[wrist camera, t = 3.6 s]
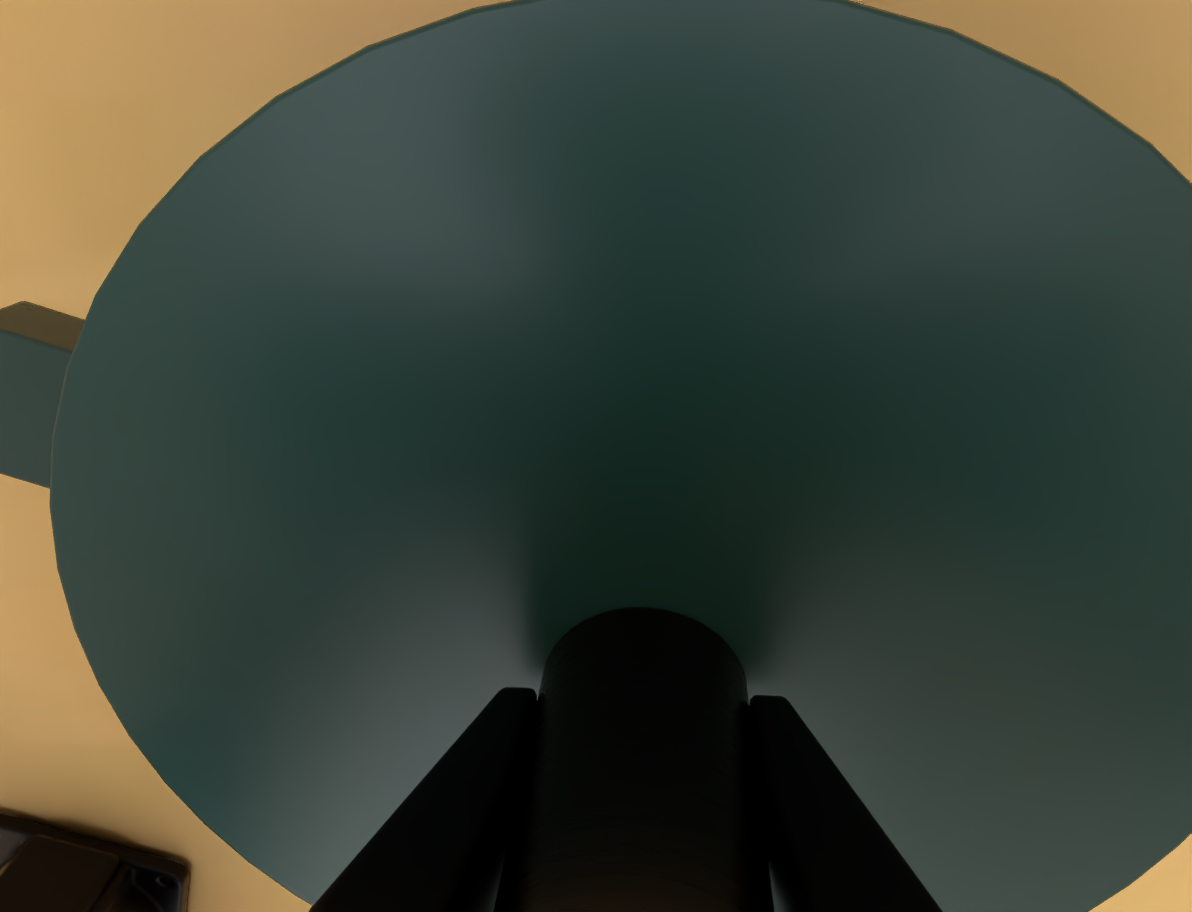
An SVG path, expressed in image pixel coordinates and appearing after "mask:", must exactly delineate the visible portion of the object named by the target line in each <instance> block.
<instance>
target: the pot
mask: <svg viewBox="0 0 1192 912" xmlns="http://www.w3.org/2000/svg"><path fill="white" fill-rule="evenodd" d="M84 322H85V320H84V319H80V318H77V317H74V316H71V315H68V314H65V313H62V312H58V311H55V310H52V309H49V308H46V307H43V306H40V305H36V304H33V303H30V302H27V301H21V302H18V303H15V304H13V305H10V306H7V307H5V308H2V309H0V474H3V475H7V476H10V477H13V478H17V479H20V480H23V481H27V482H30V483H33V484H36V485H40V486H43V487H46V488H50V479H51V451H52V435H53V430H54V425H55V420H56V416H57V411H58V406H59V401H60V396H61V391H62V387H63V382H64V377H65V372H66V367H67V365H68V362H69V360H70V357H71V355H72V352H73V350H74V347H75V345H76V342H77V340H78V337H79V335H80V332H81V330H82V327H83V325H84ZM1191 834H1192V833H1191Z"/></svg>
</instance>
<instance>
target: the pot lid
mask: <svg viewBox="0 0 1192 912" xmlns="http://www.w3.org/2000/svg"><path fill="white" fill-rule="evenodd" d="M50 512H51V520H52V528H53V536H54V544H55V552H56V560H57V568H58V572H59V576H60V579H61V583H62V586H63V590H64V594H65V597H66V601H67V604H68V608H69V611H70V615H71V619H72V622H73V626H74V629H75V632H76V634H77V636H78V638H79V641H80V643H81V645H82V648H83V650H84V652H85V654H86V657H87V659H88V661H89V664H90V666H91V668H92V670H93V673H94V675H95V677H96V680H97V682H98V684H99V686H100V688H101V689H102V691H103V693H104V694H105V696H106V698H107V699H108V701H109V703H110V704H111V706H112V708H113V710H114V711H115V713H116V715H117V716H118V718H119V720H120V721H121V723H122V725H123V726H124V728H125V730H126V731H127V733H128V735H129V736H130V738H131V739H132V740H133V741H134V743H135V744H136V745H137V747H138V748H139V749H140V751H141V752H142V753H143V754H144V756H145V757H146V758H147V760H148V761H149V762H150V764H151V765H152V766H153V768H154V769H155V770H156V771H157V773H158V774H159V775H160V777H161V778H162V779H163V781H164V782H165V783H166V784H167V785H168V786H169V787H170V788H171V789H172V790H173V791H174V792H175V794H176V795H177V796H178V797H179V798H180V799H181V800H182V801H183V802H184V803H185V804H186V805H187V806H188V807H189V808H190V809H191V810H192V811H193V812H194V813H195V815H196V816H197V817H198V818H199V819H200V820H201V821H202V822H203V823H204V824H205V825H206V826H207V827H209V828H210V829H211V830H212V831H213V832H214V833H215V834H217V835H218V836H219V837H220V838H221V839H222V840H224V841H225V842H226V843H227V844H228V845H229V846H231V847H232V848H233V849H234V850H235V851H236V852H238V853H239V854H240V855H241V856H242V857H243V858H244V859H246V860H247V861H248V862H249V863H251V864H252V865H254V866H255V867H256V868H258V869H259V870H261V871H262V872H263V873H265V874H266V875H268V876H269V877H270V878H272V879H273V880H275V881H276V882H277V883H279V884H280V885H282V886H283V887H284V888H286V889H287V890H289V891H290V892H291V893H293V894H294V895H296V896H297V897H299V898H301V899H303V900H304V901H306V902H308V903H309V904H311V905H314V904H315V903H316V902H317V900H318V899H319V898H320V897H321V896H322V895H323V894H324V892H325V891H326V890H327V889H328V888H329V887H330V885H331V884H332V883H333V882H334V881H335V880H336V879H337V877H338V876H339V875H340V874H341V873H342V872H343V870H344V869H345V868H346V867H347V866H348V865H349V864H350V862H351V861H352V860H353V859H354V858H355V857H356V855H357V854H358V853H359V852H360V851H361V850H362V849H363V847H364V846H365V845H366V844H367V843H368V842H369V840H370V839H371V838H372V837H373V836H374V835H375V834H376V832H377V831H378V830H379V829H380V828H381V827H382V825H383V824H384V823H385V822H386V821H387V820H388V819H389V817H390V816H391V815H392V814H393V813H394V812H395V810H396V809H397V808H398V807H399V806H400V805H401V804H402V802H403V801H404V800H405V799H406V798H407V797H408V795H409V794H410V793H411V792H412V791H413V790H414V789H415V787H416V786H417V785H418V784H419V783H420V782H421V780H422V779H423V778H424V777H425V776H426V775H427V773H428V772H429V771H430V770H431V769H432V768H433V767H434V765H435V764H436V763H437V762H438V761H439V760H440V759H441V757H442V756H443V755H444V754H445V753H446V752H447V750H448V749H449V748H450V747H451V746H452V745H453V743H454V742H455V741H456V740H457V739H458V738H459V737H460V735H461V734H462V733H463V732H464V731H465V730H466V728H467V727H468V726H469V725H470V724H471V723H472V722H473V720H474V719H475V718H476V717H477V716H478V715H479V713H480V712H481V711H482V710H483V709H484V708H485V707H486V705H487V704H488V703H489V702H490V701H491V700H492V698H493V697H494V696H495V695H496V694H497V693H498V692H499V691H500V690H501V689H503V688H505V687H522V688H532V689H533V690H535V692H536V695H537V705H536V709H535V714H534V719H533V724H532V729H531V733H530V738H529V743H528V748H527V753H526V757H525V762H524V767H523V772H522V777H521V781H520V786H519V791H518V796H517V801H516V806H515V810H514V815H513V820H512V825H511V830H510V834H509V839H508V844H507V849H506V854H505V858H504V863H503V868H502V873H501V878H500V882H499V887H498V892H497V897H496V902H495V906H494V911H493V912H774V904H773V896H772V887H771V879H770V871H769V863H768V855H767V847H766V838H765V830H764V822H763V815H762V808H761V801H760V793H759V785H758V777H757V769H756V760H755V752H754V744H753V736H752V727H751V719H750V711H749V704H750V699H751V698H752V697H753V696H754V695H770V696H783V697H785V698H786V699H787V700H788V701H789V702H790V703H791V705H792V706H793V707H794V709H795V710H796V712H797V713H798V714H799V716H800V717H801V718H802V720H803V721H804V722H805V724H806V725H807V727H808V728H809V729H810V731H811V732H812V733H813V735H814V736H815V738H816V739H817V740H818V742H819V743H820V744H821V746H822V747H823V748H824V750H825V751H826V753H827V754H828V755H829V757H830V758H831V759H832V761H833V762H834V763H835V765H836V766H837V768H838V769H839V770H840V772H841V773H842V774H843V776H844V777H845V779H846V780H847V781H848V783H849V784H850V785H851V787H852V788H853V789H854V791H855V792H856V794H857V795H858V796H859V798H860V799H861V800H862V802H863V803H864V804H865V806H866V807H867V809H868V810H869V811H870V813H871V814H872V815H873V817H874V818H875V820H876V821H877V822H878V824H879V825H880V826H881V828H882V829H883V830H884V832H885V833H886V835H887V836H888V837H889V839H890V840H891V841H892V843H893V844H894V845H895V847H896V848H897V850H898V851H899V852H900V854H901V855H902V856H903V858H904V859H905V860H906V862H907V863H908V865H909V866H910V867H911V869H912V870H913V871H914V873H915V874H916V876H917V877H918V878H919V880H920V881H921V882H922V884H923V885H924V886H925V888H926V889H927V891H928V892H929V893H930V895H931V896H932V897H933V899H934V900H935V901H936V903H937V904H938V906H939V907H940V908H941V910H942V911H943V912H1088V911H1090V910H1092V909H1093V908H1095V907H1096V906H1098V905H1099V904H1101V903H1103V902H1104V901H1106V900H1107V899H1109V898H1110V897H1112V896H1114V895H1115V894H1117V893H1118V892H1120V891H1121V890H1123V889H1124V888H1126V887H1128V886H1129V885H1130V884H1132V883H1133V882H1134V881H1135V880H1137V879H1138V878H1139V877H1140V876H1142V875H1143V874H1144V873H1145V872H1147V871H1148V870H1149V869H1150V868H1152V867H1153V866H1154V865H1155V864H1157V863H1158V862H1159V861H1160V860H1161V859H1163V858H1164V857H1165V856H1166V855H1168V854H1169V853H1170V852H1171V851H1173V850H1174V849H1175V848H1176V847H1178V846H1179V845H1180V844H1181V843H1182V842H1183V841H1184V840H1185V839H1186V838H1187V837H1188V836H1189V835H1190V834H1191V833H1192V183H1190V182H1189V181H1188V180H1187V179H1186V178H1185V177H1184V176H1183V175H1182V174H1181V173H1180V172H1179V171H1178V170H1177V169H1176V168H1175V167H1174V166H1173V165H1172V164H1171V163H1170V162H1169V161H1168V160H1167V159H1166V158H1165V157H1164V156H1163V155H1162V154H1161V153H1160V152H1159V151H1158V150H1157V149H1156V148H1155V147H1154V146H1153V145H1152V144H1151V143H1150V142H1149V141H1147V140H1146V139H1144V138H1143V137H1141V136H1140V135H1138V134H1137V133H1136V132H1134V131H1133V130H1131V129H1130V128H1128V127H1127V126H1125V125H1124V124H1123V123H1121V122H1120V121H1118V120H1117V119H1115V118H1114V117H1112V116H1111V115H1109V114H1108V113H1107V112H1105V111H1104V110H1102V109H1101V108H1099V107H1098V106H1096V105H1095V104H1094V103H1092V102H1091V101H1089V100H1088V99H1086V98H1085V97H1083V96H1082V95H1081V94H1079V93H1078V92H1076V91H1075V90H1073V89H1072V88H1070V87H1069V86H1068V85H1066V84H1065V83H1063V82H1062V81H1060V80H1059V79H1057V78H1055V77H1052V76H1050V75H1048V74H1046V73H1044V72H1042V71H1040V70H1037V69H1035V68H1033V67H1031V66H1029V65H1027V64H1025V63H1022V62H1020V61H1018V60H1016V59H1014V58H1012V57H1010V56H1007V55H1005V54H1003V53H1001V52H999V51H997V50H995V49H992V48H990V47H988V46H986V45H984V44H982V43H980V42H977V41H975V40H973V39H971V38H969V37H967V36H965V35H962V34H960V33H958V32H956V31H954V30H951V29H948V28H944V27H941V26H937V25H934V24H930V23H927V22H923V21H920V20H916V19H913V18H909V17H906V16H902V15H898V14H895V13H891V12H888V11H884V10H881V9H877V8H874V7H870V6H867V5H863V4H860V3H856V2H853V1H849V0H513V1H508V2H502V3H497V4H492V5H487V6H481V7H476V8H472V9H469V10H466V11H464V12H461V13H458V14H455V15H452V16H450V17H447V18H444V19H441V20H438V21H436V22H433V23H430V24H427V25H424V26H422V27H419V28H416V29H413V30H411V31H408V32H405V33H402V34H399V35H397V36H394V37H391V38H388V39H385V40H383V41H380V42H377V43H374V44H371V45H369V46H366V47H365V48H363V49H361V50H359V51H357V52H356V53H354V54H352V55H350V56H348V57H346V58H345V59H343V60H341V61H339V62H337V63H336V64H334V65H332V66H330V67H328V68H327V69H325V70H323V71H321V72H319V73H317V74H316V75H314V76H312V77H310V78H308V79H307V80H305V81H303V82H301V83H299V84H298V85H296V86H294V87H292V88H290V89H288V90H287V91H285V92H283V93H281V94H279V95H278V96H276V97H274V98H273V99H272V100H271V101H269V102H268V103H267V104H266V105H264V106H263V107H262V108H261V109H259V110H258V111H257V112H255V113H254V114H253V115H252V116H250V117H249V118H248V119H247V120H245V121H244V122H243V123H242V124H240V125H239V126H238V127H237V128H235V129H234V130H233V131H232V132H230V133H229V134H228V135H226V136H225V137H224V138H223V139H221V140H220V141H219V142H218V143H216V144H215V145H214V146H213V147H211V148H210V149H209V150H208V151H206V152H205V153H204V154H202V155H201V156H200V157H199V158H198V159H197V160H196V161H195V162H194V163H193V165H192V166H191V167H190V168H189V169H188V170H187V171H186V172H185V174H184V175H183V176H182V177H181V178H180V179H179V180H178V181H177V182H176V184H175V185H174V186H173V187H172V188H171V189H170V190H169V191H168V193H167V194H166V195H165V196H164V197H163V198H162V199H161V200H160V201H159V203H158V204H157V205H156V206H155V207H154V208H153V209H152V210H151V212H150V213H149V214H148V215H147V216H146V217H145V218H144V219H143V220H142V222H141V223H140V224H139V225H138V227H137V229H136V230H135V232H134V233H133V235H132V237H131V238H130V240H129V242H128V243H127V245H126V246H125V248H124V250H123V251H122V253H121V254H120V256H119V258H118V259H117V261H116V262H115V264H114V266H113V267H112V269H111V271H110V272H109V274H108V275H107V277H106V279H105V280H104V282H103V283H102V285H101V287H100V288H99V290H98V292H97V293H96V295H95V297H94V299H93V302H92V305H91V307H90V310H89V312H88V315H87V317H86V320H85V322H84V325H83V327H82V330H81V332H80V335H79V337H78V340H77V342H76V345H75V347H74V350H73V352H72V355H71V357H70V360H69V362H68V365H67V367H66V372H65V377H64V382H63V387H62V391H61V396H60V401H59V406H58V411H57V416H56V420H55V425H54V430H53V435H52V451H51V479H50Z"/></svg>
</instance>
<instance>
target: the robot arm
mask: <svg viewBox="0 0 1192 912" xmlns="http://www.w3.org/2000/svg"><path fill="white" fill-rule="evenodd" d="M536 705H537V695H536V692H535V690H533V689H532V688H522V687H505V688H503V689H501V690H500V691H499V692H498V693H497V694H496V695H495V696H494V697H493V698H492V700H491V701H490V702H489V703H488V704H487V705H486V707H485V708H484V709H483V710H482V711H481V712H480V713H479V715H478V716H477V717H476V718H475V719H474V720H473V722H472V723H471V724H470V725H469V726H468V727H467V728H466V730H465V731H464V732H463V733H462V734H461V735H460V737H459V738H458V739H457V740H456V741H455V742H454V743H453V745H452V746H451V747H450V748H449V749H448V750H447V752H446V753H445V754H444V755H443V756H442V757H441V759H440V760H439V761H438V762H437V763H436V764H435V765H434V767H433V768H432V769H431V770H430V771H429V772H428V773H427V775H426V776H425V777H424V778H423V779H422V780H421V782H420V783H419V784H418V785H417V786H416V787H415V789H414V790H413V791H412V792H411V793H410V794H409V795H408V797H407V798H406V799H405V800H404V801H403V802H402V804H401V805H400V806H399V807H398V808H397V809H396V810H395V812H394V813H393V814H392V815H391V816H390V817H389V819H388V820H387V821H386V822H385V823H384V824H383V825H382V827H381V828H380V829H379V830H378V831H377V832H376V834H375V835H374V836H373V837H372V838H371V839H370V840H369V842H368V843H367V844H366V845H365V846H364V847H363V849H362V850H361V851H360V852H359V853H358V854H357V855H356V857H355V858H354V859H353V860H352V861H351V862H350V864H349V865H348V866H347V867H346V868H345V869H344V870H343V872H342V873H341V874H340V875H339V876H338V877H337V879H336V880H335V881H334V882H333V883H332V884H331V885H330V887H329V888H328V889H327V890H326V891H325V892H324V894H323V895H322V896H321V897H320V898H319V899H318V900H317V902H316V903H315V904H314V905H313V906H312V907H311V908H310V910H309V912H493V911H494V906H495V902H496V897H497V892H498V887H499V882H500V878H501V873H502V868H503V863H504V858H505V854H506V849H507V844H508V839H509V834H510V830H511V825H512V820H513V815H514V810H515V806H516V801H517V796H518V791H519V786H520V781H521V777H522V772H523V767H524V762H525V757H526V753H527V748H528V743H529V738H530V733H531V729H532V724H533V719H534V714H535V709H536ZM749 711H750V719H751V727H752V736H753V744H754V752H755V760H756V769H757V777H758V785H759V793H760V801H761V808H762V815H763V822H764V830H765V838H766V847H767V855H768V863H769V871H770V879H771V887H772V896H773V904H774V912H943V911H942V910H941V908H940V907H939V906H938V904H937V903H936V901H935V900H934V899H933V897H932V896H931V895H930V893H929V892H928V891H927V889H926V888H925V886H924V885H923V884H922V882H921V881H920V880H919V878H918V877H917V876H916V874H915V873H914V871H913V870H912V869H911V867H910V866H909V865H908V863H907V862H906V860H905V859H904V858H903V856H902V855H901V854H900V852H899V851H898V850H897V848H896V847H895V845H894V844H893V843H892V841H891V840H890V839H889V837H888V836H887V835H886V833H885V832H884V830H883V829H882V828H881V826H880V825H879V824H878V822H877V821H876V820H875V818H874V817H873V815H872V814H871V813H870V811H869V810H868V809H867V807H866V806H865V804H864V803H863V802H862V800H861V799H860V798H859V796H858V795H857V794H856V792H855V791H854V789H853V788H852V787H851V785H850V784H849V783H848V781H847V780H846V779H845V777H844V776H843V774H842V773H841V772H840V770H839V769H838V768H837V766H836V765H835V763H834V762H833V761H832V759H831V758H830V757H829V755H828V754H827V753H826V751H825V750H824V748H823V747H822V746H821V744H820V743H819V742H818V740H817V739H816V738H815V736H814V735H813V733H812V732H811V731H810V729H809V728H808V727H807V725H806V724H805V722H804V721H803V720H802V718H801V717H800V716H799V714H798V713H797V712H796V710H795V709H794V707H793V706H792V705H791V703H790V702H789V701H788V700H787V699H786V698H785V697H783V696H770V695H754V696H753V697H752V698H751V699H750V704H749ZM189 879H190V873H189V870H188V869H187V868H186V867H185V866H184V865H182V864H181V863H178V862H176V861H172V860H169V859H165V858H161V857H158V856H154V855H150V854H147V853H143V852H139V851H136V850H132V849H128V848H125V847H121V846H117V845H114V844H110V843H106V842H103V841H99V840H95V839H92V838H88V837H84V836H81V835H77V834H74V833H70V832H66V831H63V830H59V829H55V828H52V827H48V826H44V825H41V824H37V823H33V822H30V821H26V820H22V819H19V818H15V817H11V816H8V815H4V814H0V912H187V902H188V890H189Z"/></svg>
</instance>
